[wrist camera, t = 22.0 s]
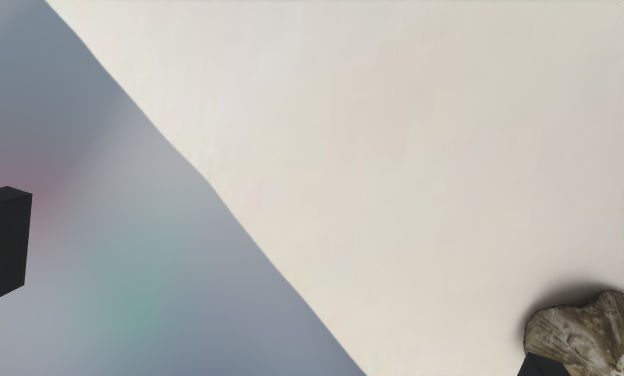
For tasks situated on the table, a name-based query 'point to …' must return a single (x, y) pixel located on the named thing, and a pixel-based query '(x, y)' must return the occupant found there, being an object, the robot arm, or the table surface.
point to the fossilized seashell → (581, 335)
